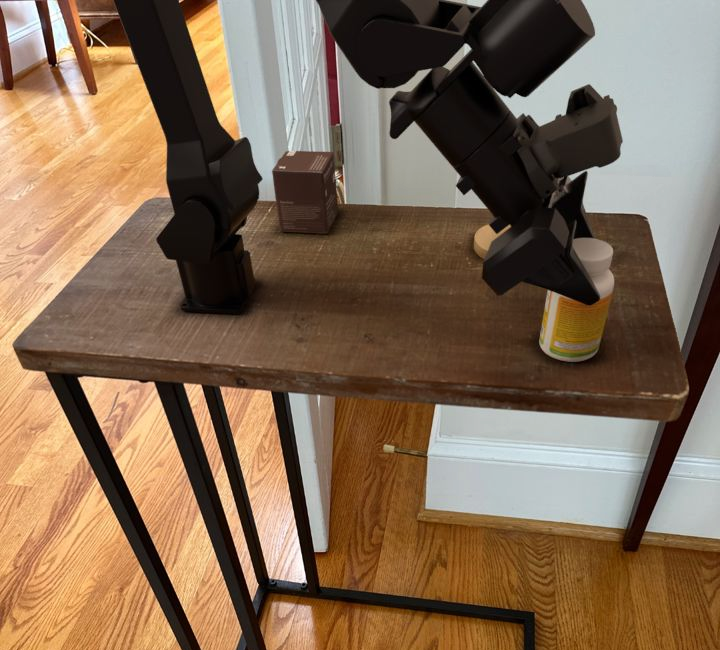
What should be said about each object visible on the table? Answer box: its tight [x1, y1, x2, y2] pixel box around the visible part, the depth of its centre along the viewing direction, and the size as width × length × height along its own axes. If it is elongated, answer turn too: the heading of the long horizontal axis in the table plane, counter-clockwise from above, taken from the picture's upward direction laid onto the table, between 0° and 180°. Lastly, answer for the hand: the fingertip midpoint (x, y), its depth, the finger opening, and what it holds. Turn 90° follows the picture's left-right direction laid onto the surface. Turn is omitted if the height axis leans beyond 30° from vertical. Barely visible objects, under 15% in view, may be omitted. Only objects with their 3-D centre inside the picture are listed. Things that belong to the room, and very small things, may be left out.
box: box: [271, 150, 339, 234], centre depth 81 cm, size 6×6×7 cm
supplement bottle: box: [538, 238, 615, 363], centre depth 60 cm, size 5×5×10 cm
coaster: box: [473, 224, 511, 260], centre depth 76 cm, size 8×8×1 cm
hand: (598, 284), depth 58 cm, fingers closed on supplement bottle, 5 cm apart
